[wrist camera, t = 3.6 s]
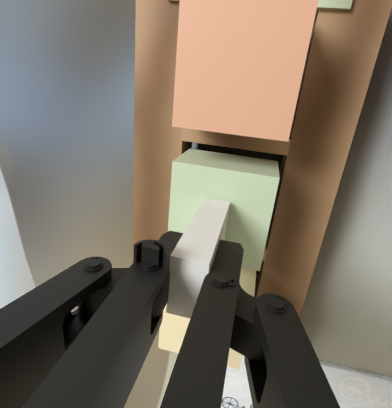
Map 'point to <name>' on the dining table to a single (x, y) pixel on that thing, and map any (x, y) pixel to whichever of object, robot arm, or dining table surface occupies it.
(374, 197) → the dining table surface
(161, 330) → the cream yellow square block
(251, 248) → the pale green square block
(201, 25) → the salmon orange square block
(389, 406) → the printed paper napkins
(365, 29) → the board
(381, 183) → the dining table surface
